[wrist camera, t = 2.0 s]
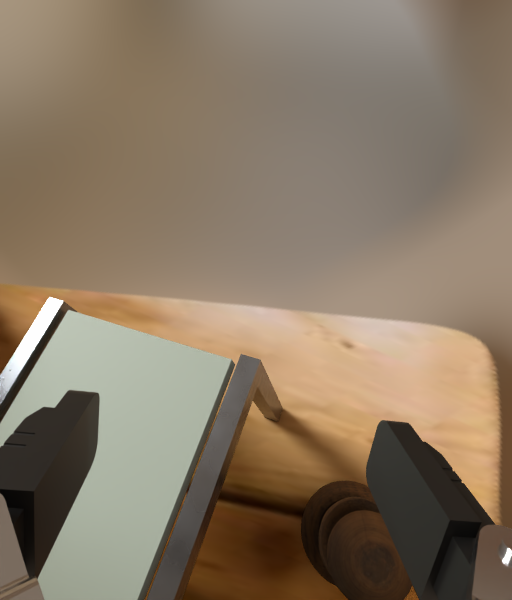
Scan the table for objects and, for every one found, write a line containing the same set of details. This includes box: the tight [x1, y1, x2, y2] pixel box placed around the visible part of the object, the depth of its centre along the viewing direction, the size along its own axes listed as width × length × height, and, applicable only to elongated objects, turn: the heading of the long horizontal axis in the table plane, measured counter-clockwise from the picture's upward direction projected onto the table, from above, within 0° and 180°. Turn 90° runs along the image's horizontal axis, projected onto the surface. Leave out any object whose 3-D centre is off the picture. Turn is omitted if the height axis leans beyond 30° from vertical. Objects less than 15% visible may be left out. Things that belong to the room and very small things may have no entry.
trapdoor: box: [0, 310, 235, 600], centre depth 22 cm, size 12×14×1 cm
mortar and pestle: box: [301, 481, 412, 600], centre depth 21 cm, size 7×6×18 cm
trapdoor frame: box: [0, 297, 283, 600], centre depth 27 cm, size 15×16×13 cm
